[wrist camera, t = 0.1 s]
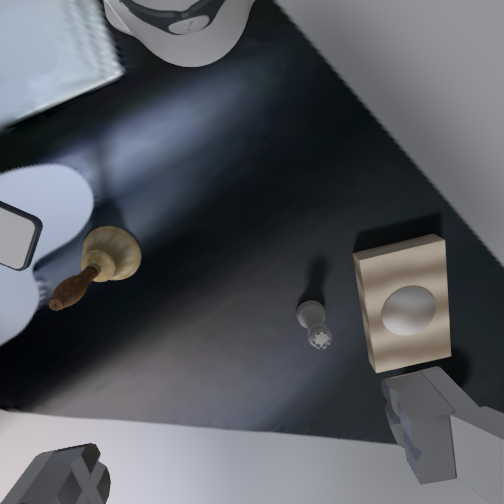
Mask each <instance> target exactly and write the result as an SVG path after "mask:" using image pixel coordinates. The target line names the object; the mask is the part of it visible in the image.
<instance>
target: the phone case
mask: <svg viewBox="0 0 504 504" xmlns="http://www.w3.org/2000/svg"><path fill="white" fill-rule="evenodd" d="M42 228H43V224H42V221H41V220H40V219H39V218H38V217H36V216H34V215H31V214H29V213H27V212H25V211H22V210H20V209H18V208H16V207H13V206H11V205H8V204H6V203H4V202H2V201H0V264H1V265H4V266H7V267H9V268H11V269H14V270H17V271H22V270H25V269H26V268H28V267H29V266H30V264H31V262H32V259H33V256H34V253H35V250H36V247H37V244H38V241H39V237H40V234H41V231H42Z"/></svg>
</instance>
